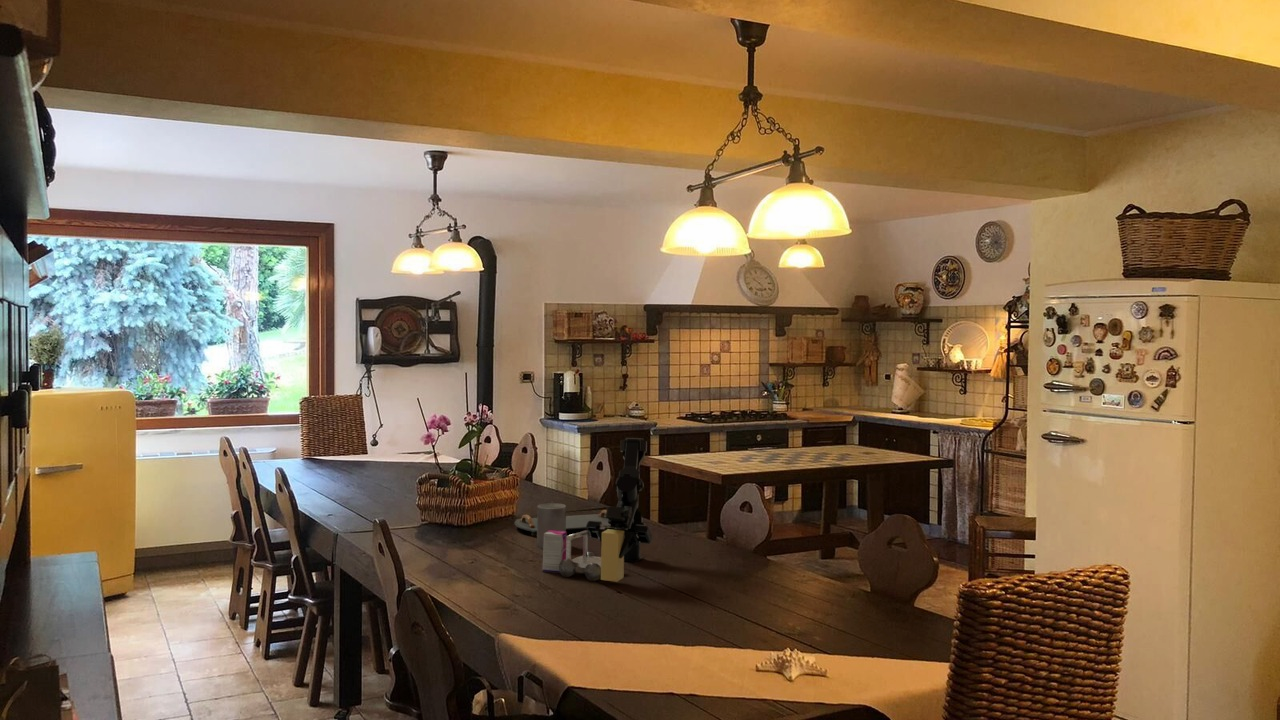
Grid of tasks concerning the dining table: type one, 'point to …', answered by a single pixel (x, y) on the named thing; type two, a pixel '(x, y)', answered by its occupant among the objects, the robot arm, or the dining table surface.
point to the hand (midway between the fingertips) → (611, 556)
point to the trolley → (581, 559)
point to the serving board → (571, 522)
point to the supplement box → (554, 550)
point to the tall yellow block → (612, 555)
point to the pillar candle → (550, 520)
